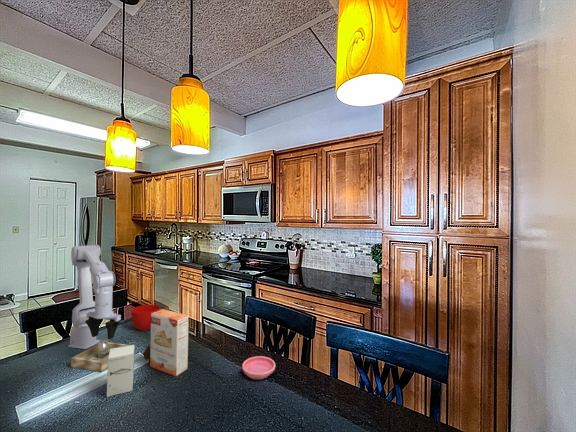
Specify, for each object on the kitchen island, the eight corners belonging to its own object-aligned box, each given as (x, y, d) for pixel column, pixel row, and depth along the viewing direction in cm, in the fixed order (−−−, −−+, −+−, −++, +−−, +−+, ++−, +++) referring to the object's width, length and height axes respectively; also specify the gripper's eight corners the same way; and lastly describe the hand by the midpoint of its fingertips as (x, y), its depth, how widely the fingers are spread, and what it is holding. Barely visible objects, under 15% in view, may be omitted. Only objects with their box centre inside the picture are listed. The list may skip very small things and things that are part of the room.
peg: (95, 360, 106) (96, 342, 106) (102, 356, 109) (103, 339, 109) (102, 361, 105) (102, 343, 105) (109, 357, 108) (109, 339, 108)
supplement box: (105, 398, 85) (106, 358, 85) (108, 385, 92) (109, 347, 92) (132, 391, 89) (133, 353, 89) (133, 379, 95) (134, 343, 95)
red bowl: (144, 337, 127) (144, 316, 127) (125, 329, 137) (126, 309, 137) (169, 328, 138) (169, 309, 138) (150, 321, 147) (151, 302, 147)
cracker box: (148, 367, 102) (150, 312, 103) (162, 360, 108) (163, 308, 108) (175, 377, 96) (176, 319, 97) (188, 369, 102) (189, 314, 102)
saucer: (267, 360, 109) (267, 352, 109) (280, 377, 98) (281, 368, 98) (237, 368, 104) (238, 360, 104) (248, 386, 93) (248, 377, 93)
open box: (70, 367, 102) (70, 358, 102) (103, 349, 115) (103, 341, 115) (101, 372, 99) (101, 362, 99) (131, 353, 113) (131, 345, 113)
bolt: (161, 347, 123) (151, 363, 108) (151, 342, 122) (140, 358, 107) (168, 335, 124) (160, 350, 109) (158, 330, 123) (148, 344, 108)
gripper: (127, 301, 110) (126, 334, 110) (97, 298, 113) (96, 331, 113) (112, 307, 103) (111, 342, 103) (81, 303, 106) (80, 338, 106)
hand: (103, 337), depth 107 cm, fingers open, 7 cm apart
